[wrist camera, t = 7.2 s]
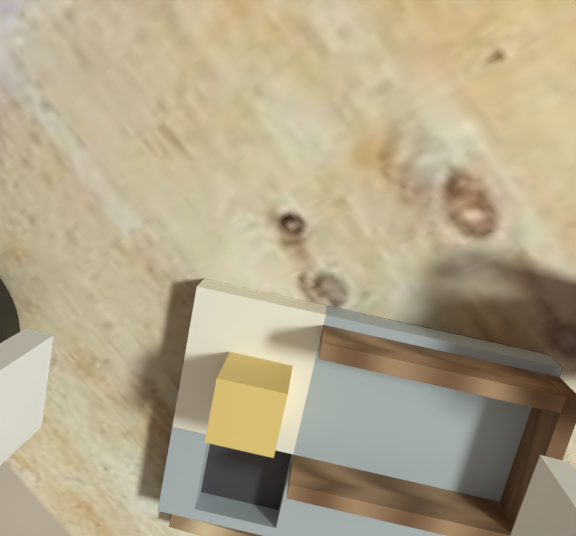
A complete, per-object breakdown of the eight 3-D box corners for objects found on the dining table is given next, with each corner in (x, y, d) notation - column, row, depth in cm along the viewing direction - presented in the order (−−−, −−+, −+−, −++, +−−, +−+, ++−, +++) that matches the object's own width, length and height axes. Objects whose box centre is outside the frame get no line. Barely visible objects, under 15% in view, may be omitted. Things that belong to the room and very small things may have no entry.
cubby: (290, 467, 44) (286, 498, 40) (323, 324, 41) (322, 343, 37) (510, 518, 43) (528, 554, 39) (559, 377, 41) (583, 401, 37)
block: (218, 409, 43) (204, 442, 38) (229, 351, 42) (216, 378, 37) (280, 423, 43) (273, 458, 38) (292, 365, 42) (287, 394, 37)
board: (166, 492, 48) (157, 511, 46) (204, 278, 44) (196, 286, 41) (477, 565, 47) (485, 587, 45) (549, 355, 43) (562, 367, 40)
